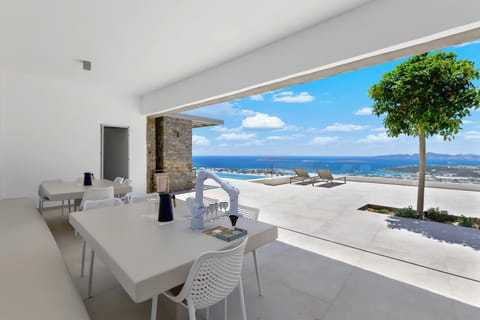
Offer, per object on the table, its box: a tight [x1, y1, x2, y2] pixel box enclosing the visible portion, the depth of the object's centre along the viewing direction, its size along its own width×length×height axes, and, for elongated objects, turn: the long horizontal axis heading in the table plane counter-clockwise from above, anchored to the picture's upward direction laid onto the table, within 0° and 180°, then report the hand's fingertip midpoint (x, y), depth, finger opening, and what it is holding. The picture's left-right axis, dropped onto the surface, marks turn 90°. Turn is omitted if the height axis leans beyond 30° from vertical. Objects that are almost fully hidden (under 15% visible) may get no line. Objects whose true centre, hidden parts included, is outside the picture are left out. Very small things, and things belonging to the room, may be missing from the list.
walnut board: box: [201, 225, 234, 238], centre depth 157 cm, size 15×18×1 cm
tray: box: [215, 226, 248, 243], centre depth 148 cm, size 11×18×4 cm, turn 139°
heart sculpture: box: [185, 196, 195, 220], centre depth 191 cm, size 16×5×18 cm, turn 60°
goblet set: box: [203, 201, 230, 224], centre depth 191 cm, size 28×6×13 cm, turn 144°
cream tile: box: [213, 230, 222, 235], centre depth 152 cm, size 4×4×2 cm
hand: (233, 226), depth 154 cm, fingers closed
